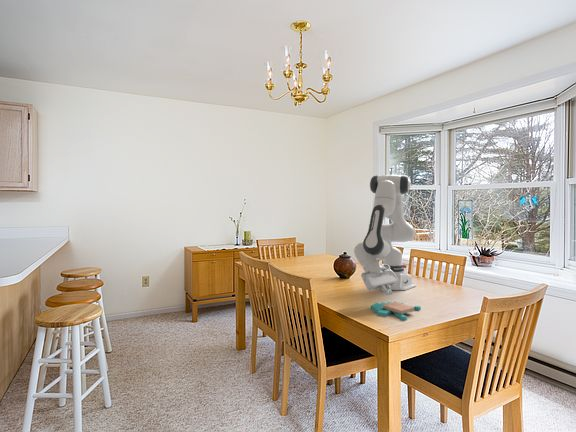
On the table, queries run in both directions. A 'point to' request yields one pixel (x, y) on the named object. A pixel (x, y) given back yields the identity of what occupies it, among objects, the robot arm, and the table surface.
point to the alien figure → (383, 312)
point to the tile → (398, 307)
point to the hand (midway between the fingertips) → (389, 293)
